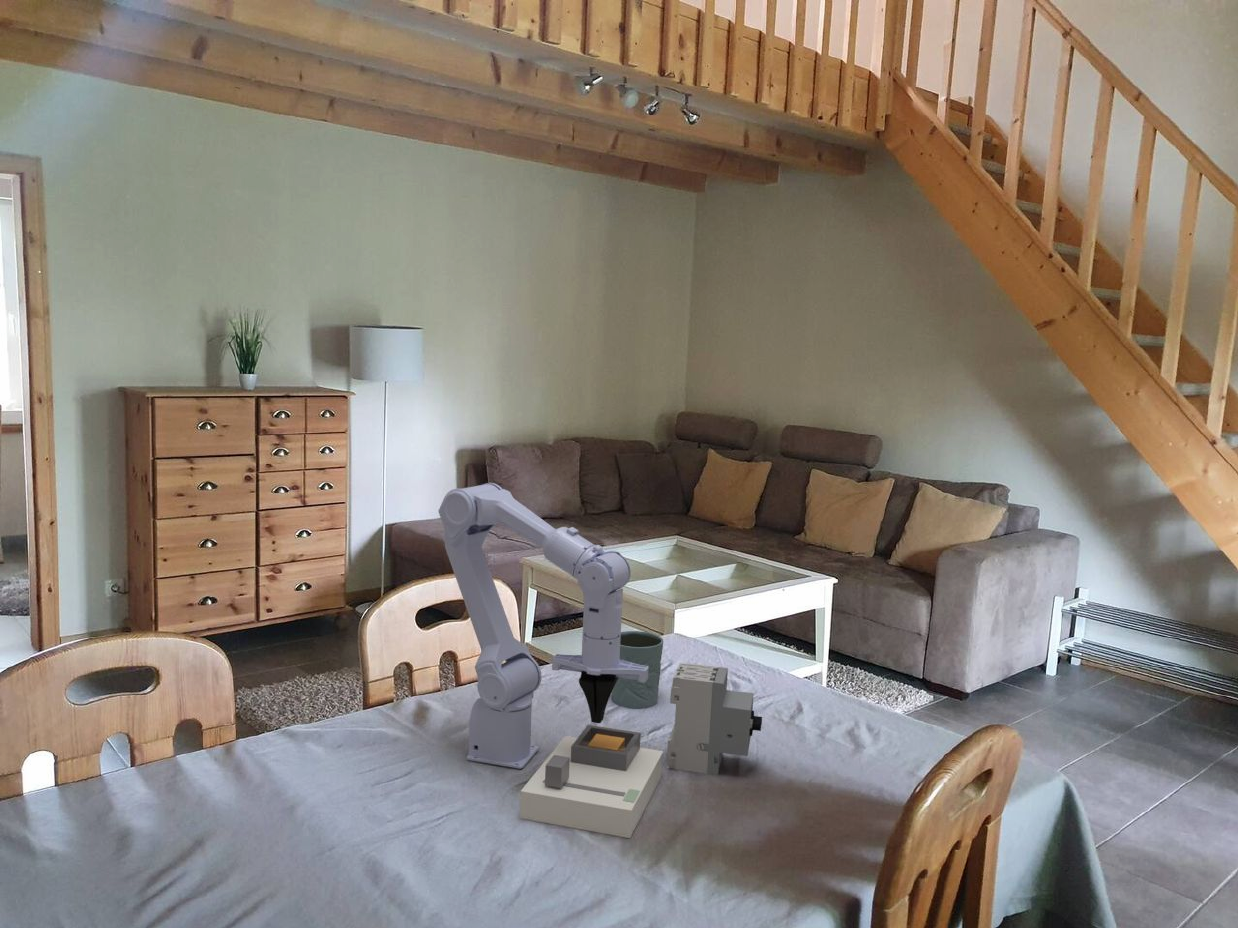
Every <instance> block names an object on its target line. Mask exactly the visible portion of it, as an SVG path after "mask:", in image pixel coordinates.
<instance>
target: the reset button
mask: <svg viewBox="0 0 1238 928" xmlns="http://www.w3.org/2000/svg"><path fill="white" fill-rule="evenodd" d="M588 747H593V748H600V749H606V750H612V751H619V752H623V751H624V748H625V738H620V737H614V736H608V735H601V734H596V735H595V736H594V738H593V739H592V740H591V742H590V743H589V745H588Z"/></svg>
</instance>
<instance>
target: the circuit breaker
mask: <svg viewBox="0 0 1238 928" xmlns="http://www.w3.org/2000/svg"><path fill="white" fill-rule="evenodd" d="M728 672H729V668H728V667H721V666H715V665H714V666H713V665H707V664H696V663H688V662H686V663H682V662H679V663H678V666H677V668H676V670H675V673H674V675H673V678H672V684H671V688H670V700H669V703H670V704H672V705H675V714H674V716H675V717H674V724H673V727H672V729H671V733H670V734H669V737H668V740H667V754H666V769H669V770H670V769H674V770H676V771H682V772H689V773H690V772H691V773H698V774H705V775H714V776H718V775H719V771H720V768H721V763H722V759H723V758H722V757H723V754H727V755H728V754H729V755H736V756H744V757H748V755H749V749H750V744H751V738H752V736H753V731H757V732H758V731H759V732H761V731H762V725H763V716H758V715H755V710H754V693H753V692H748V691H747V692H746V691H738V690H729V689H728V688H727V687H728V675H729V674H728Z"/></svg>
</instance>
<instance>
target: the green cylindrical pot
mask: <svg viewBox="0 0 1238 928" xmlns="http://www.w3.org/2000/svg"><path fill="white" fill-rule="evenodd" d="M663 647H664V639H663V637H661V636H660V635H658V634H655V633H652V632H649V631H641V630H639V631H638V630H626V631H625V630H624V631H621V638H620V657H619V659H620V660H624V661H628V662H631V663H635V664H639V665H643V666H649V669H648V679H647V681H646V682H645V683H643V682H639V681H638V680H633V679H626V678H618V680H617V682H616V684H615V686H614V688H613V690H612V692H611V699H612V702H613V703H614V704H615V705H617V706H619V707H622V708H627V709H634V710H635V709H636V710H638V709H641V710H642V709H647V708H652V707H653V706H655V705H656V704H657V702H658V700H659V699H658V698H659V687H660V679H661V668H662V667H661V666H662V663H661V662H662V655H663Z"/></svg>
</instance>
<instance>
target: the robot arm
mask: <svg viewBox="0 0 1238 928" xmlns="http://www.w3.org/2000/svg"><path fill="white" fill-rule="evenodd" d="M439 506H440V507H439V509H438V514H439V517H440V520H441V523H442V526H443V532H444V535H443V536H444V537H443V538H444V539H443V540H444V548H445V551H446V555H447V557H448V561H449V563H450V564H451V565H450V566H451V569H452V571H453V574H454V577H455V579H456V582H457V585H458V588H459V591H460V593H461V596H462V599H463V602H464V606H465V608H466V610H467V613H468V615H469V618H470V622H471V624H472V627H473V631H474V633H475V636H476V638H477V642H478V645H479V647H480V649H481V651H480V654H479V656H478V658H477V660H476V662H475V665H474V670H475V673H476V677H477V692H478V696H479V698H477V699H476V700H475V701H474V703H473V706H472V708H471V710H470V714H469V715H470V716H469V727H468V728H469V729H468V730H469V731H468V754H467V756H466V760H467V761H473V762H479V763H484V764H485V763H486V764H491V765H494V766H496V765H497V766H502V767H507V768H514V769H523V768H524V767H526V765H527V764H528V763H529V761H530V760H531V759H532V758H533V756H535V755H536V753H537V752H538V751H539V749H540V748H539V746H538V745H532V744H531V741H532V738H531V736H532V710H533V709H532V708H533V699H534V692H535V691H536V690H537V689H538V688H539V687H540V686H541V681H542V678H543V677H542V670H541V667H540V665H539V663H538V662H537V660H535V659H534V658H533V657H532V654H531V653H530V651H529V649H528V645H526V644H524V643H523V642H521V641H519V640H518V639H516V638H515V637H514V634H513V631H512V628H511V626H510V622H509V619H508V617H507V614H506V610H505V608H504V606H503V603H502V601H501V599H500V598H501V597H500V595H499V592H498V589H497V587H496V583H495V581H494V578H493V575H492V572H491V569H490V566H489V564H488V561H487V559H486V556H485V553H484V551H483V547H482V546H483V544H484V542H485V540H486V537H487V535H488V534H489V532H490V531H491V530H492V529H494V527H495V526H496V525H503V526H504V527H507V528H508V529H510V530H512V531H513V532H515V533H517V534H518V535H520V536H522V537H523V538H526V539H527V540H529V541H531V542H532V543H535V544H536V545H538V546H539V547H541V548H542V551H543V556H544V558H545V559H546V560H547V561H549V562H550V563H552V565H555V566H556V567H557V568H560V569H561V570H562V571H564V572H565V573H567V574H568V575H570V576H571V577H573V578H574V579H576V580H577V583H578V586H579V588H580V590H581V591H582V595H583V600H582V602H583V619H582V636H581V637H582V639H581V640H582V641H581V654H562V653H561V654H560V653H556V654H555V655H554V656H553V657H552V660H551V670H552V671H558V672H559V671H560V670H562V671H570V672H577V673H580V677H579V679H578V684H579V686H580V688H581V690H582V692H583V695H584V697H585V699H586V702H587V705H588V710H589V714H590V722H591V723H594V724H601V723H602V721H604V719H605V712H606V708H607V705H608V702H609V699H610V697H611V695H612V690H613V688H614V686H615V684H616V682H617V680H618V678H626V679H633V680H638V681H639V682H643V683H645V682H646V681H647V679H648V669H649V666H643V665H639V664H635V663H631V662H628V661H624V660H620V659H619V657H620V638H621V632H622V618H623V600H624V599H623V597H624V595H623V593H624V588H623V587H625V586H626V585H627V584H628V583H629V581H630V578H631V566H630V564H629V561H628V560H627V558H625V556H623V555H622V554H621V552H619V551H616V550H608V551H605V550H603V549H604V548H603V547H602V546H601V545H599V544H596V545H595V544H594V543H592V542H590V541H589V540H588V539H586V538H584V537H583V536H581V535H580V534H579V532H580V531H579V530H578V529H576V528H575V527H573V526H571V527H567V526H562V527H558V528H554V527H553V526H552V525H551V524H549V523H548V522H547V521H545V520H543V519H542V518H541V517H540V516H538V515H537V514H535V513H534V512H533V511H531V509H529V508H528V507H526V506H525V505H524V504H522V503H520V501H518V500H516V499H515V498H514V496H513V495H512V493H511V491H510V490H507V489H504V488H502V487H501V486H500V485H499V484H496V483H494V482H487V483H486V482H485V483H482V484H480V485H479V484H478V485H476V486H475V485H474V486H468V487H464V488H463V487H462V488H458V487H457V488H453V489H451V490H450V491H448V492H446V494H445V496H444V498H443V499H442V502H441V503H440V505H439Z"/></svg>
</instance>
